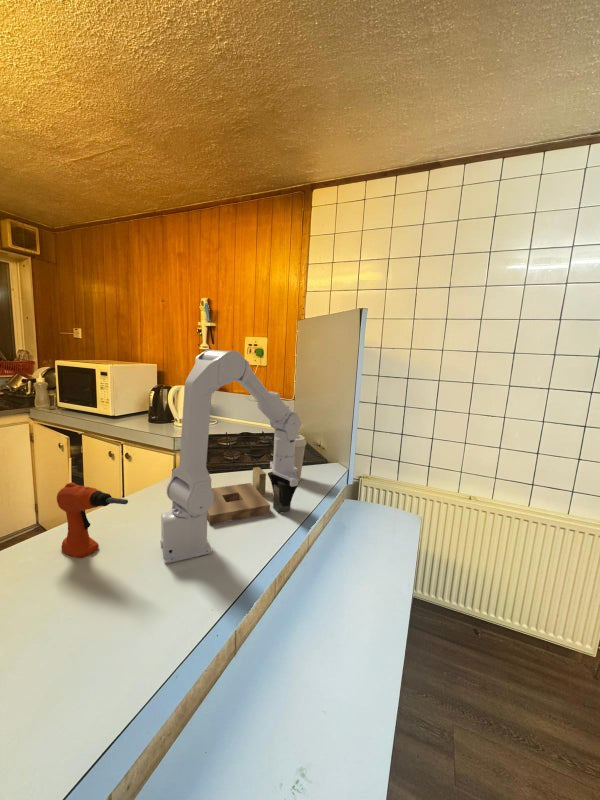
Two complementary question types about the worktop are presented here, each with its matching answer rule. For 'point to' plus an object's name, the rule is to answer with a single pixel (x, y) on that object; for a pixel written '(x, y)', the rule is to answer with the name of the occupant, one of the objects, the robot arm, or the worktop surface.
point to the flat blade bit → (259, 480)
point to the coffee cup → (299, 454)
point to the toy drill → (81, 517)
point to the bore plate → (236, 503)
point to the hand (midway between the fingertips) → (281, 501)
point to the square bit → (279, 501)
